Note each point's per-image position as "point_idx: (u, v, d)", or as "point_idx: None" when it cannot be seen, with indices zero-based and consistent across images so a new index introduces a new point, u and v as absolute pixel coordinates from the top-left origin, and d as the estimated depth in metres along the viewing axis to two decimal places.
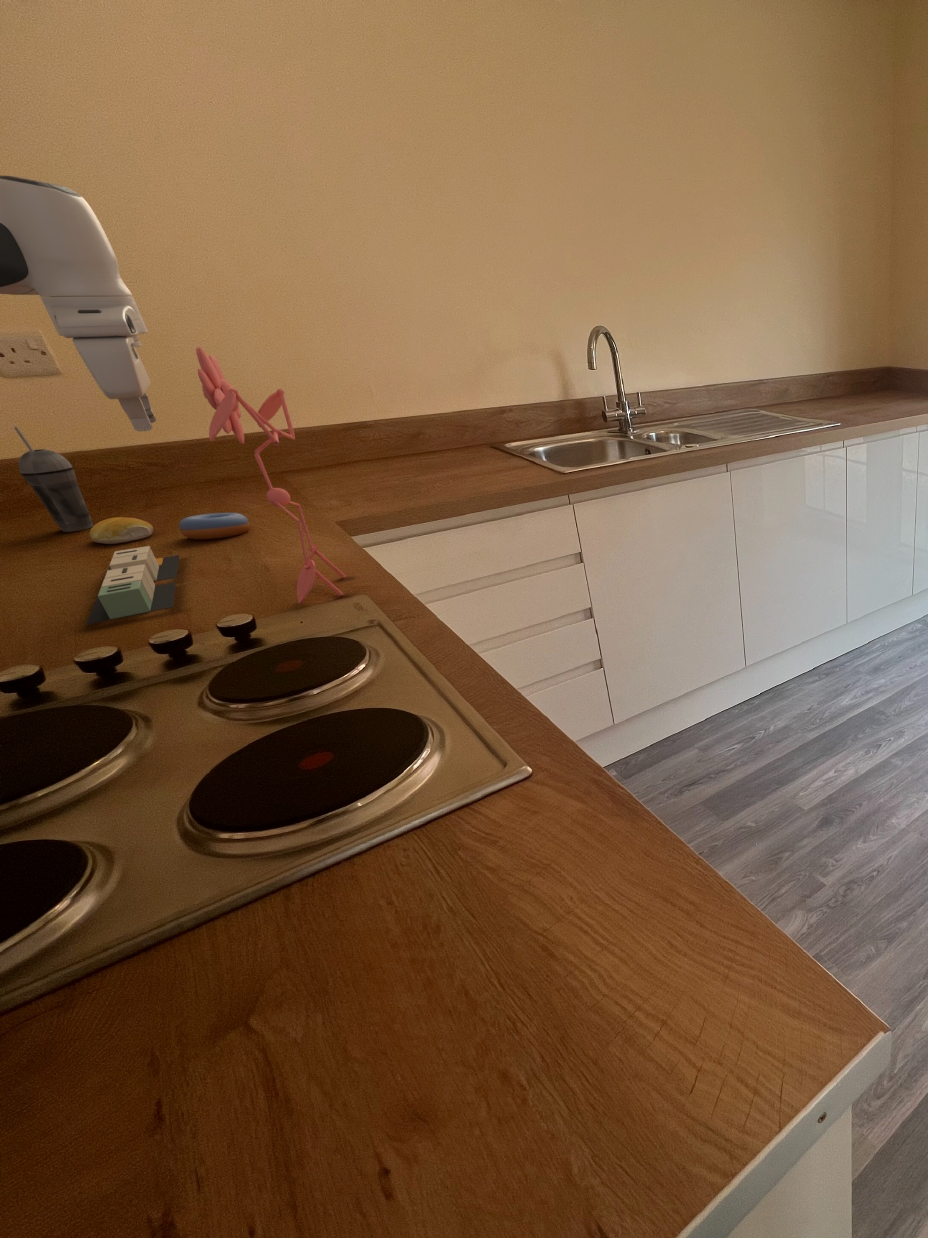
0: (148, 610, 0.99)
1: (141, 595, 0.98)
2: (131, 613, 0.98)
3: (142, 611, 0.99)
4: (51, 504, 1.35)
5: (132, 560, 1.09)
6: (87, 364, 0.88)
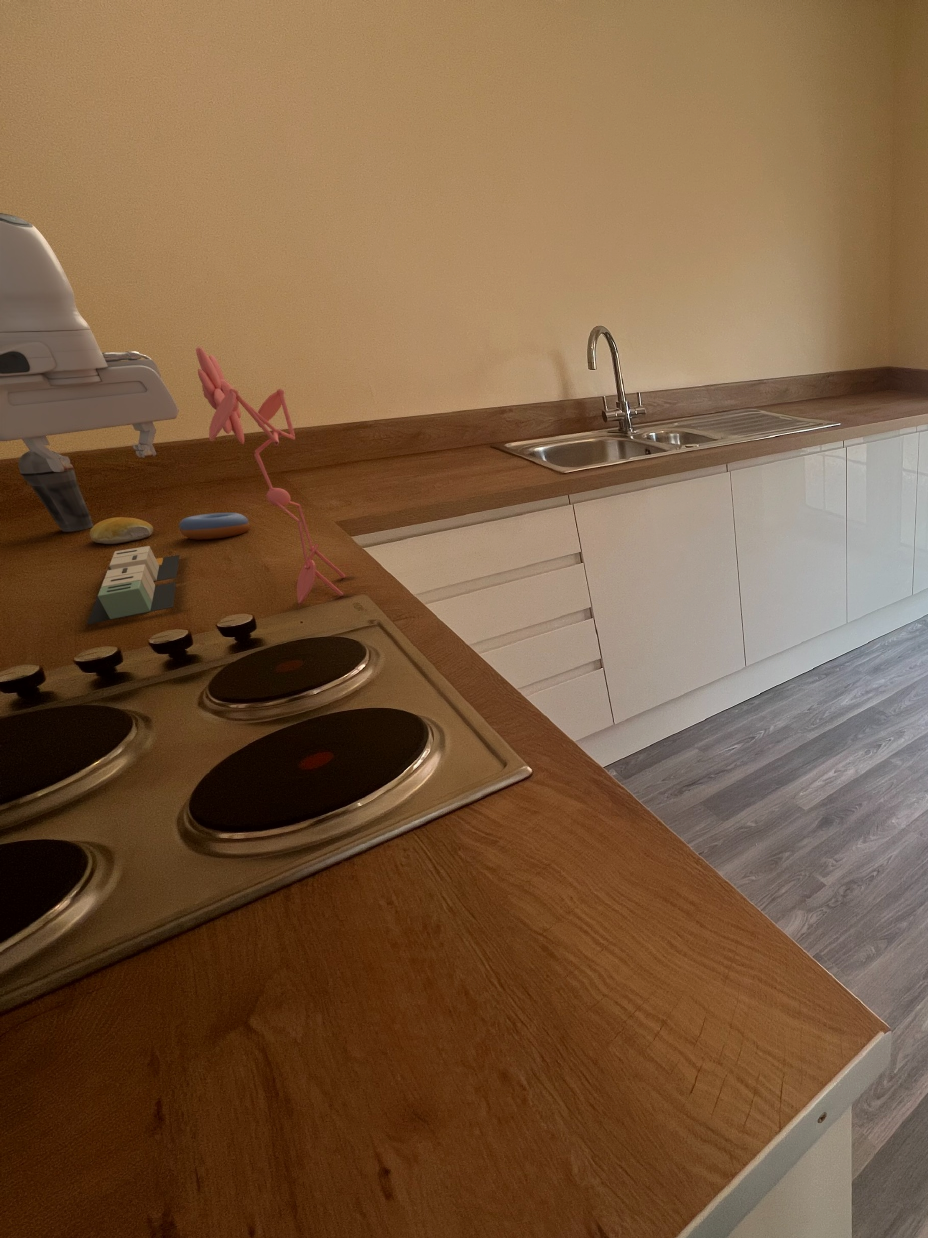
0: (148, 610, 0.99)
1: (141, 595, 0.98)
2: (131, 613, 0.98)
3: (142, 611, 0.99)
4: (51, 504, 1.35)
5: (132, 560, 1.09)
6: None
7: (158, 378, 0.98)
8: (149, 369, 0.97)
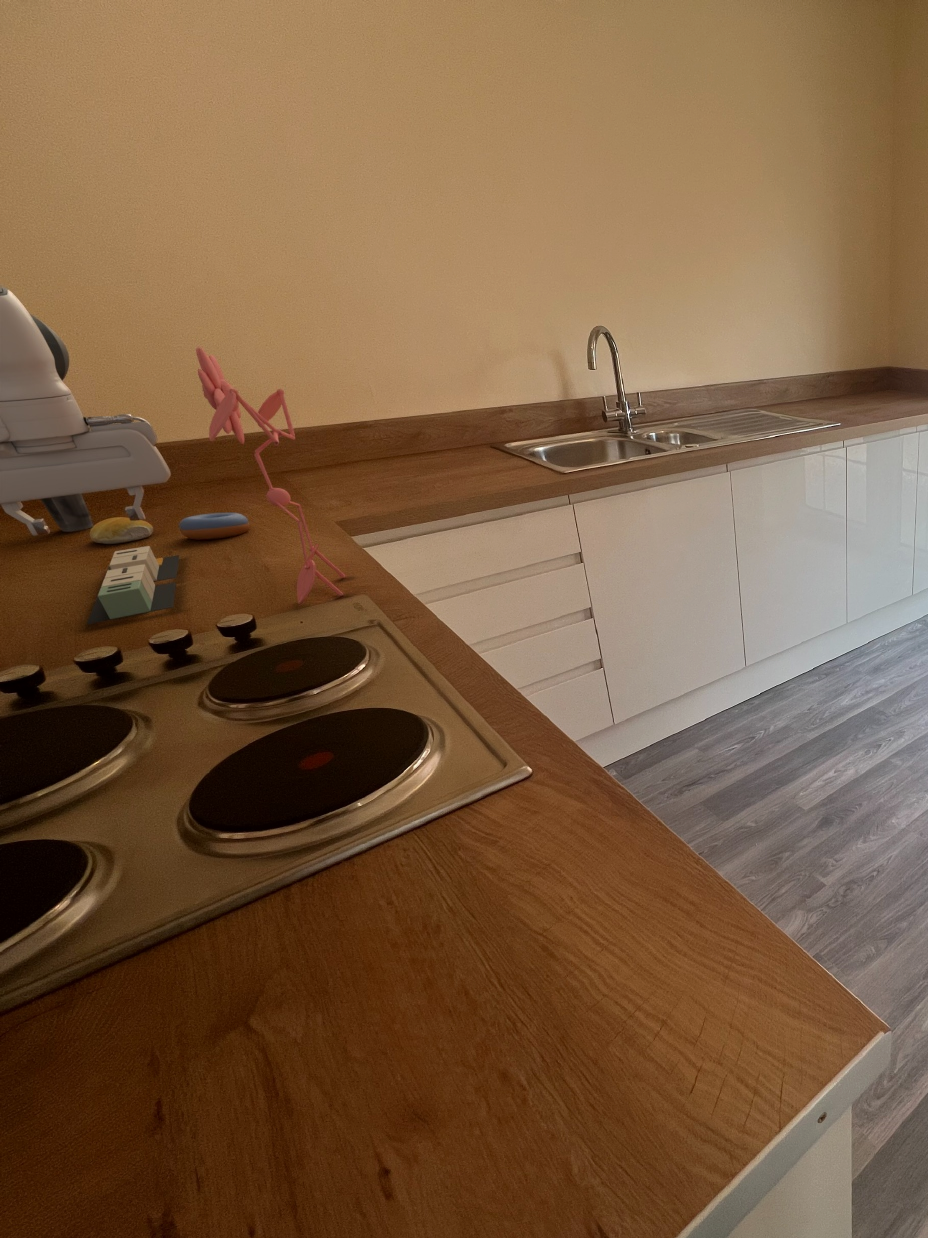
0: (148, 610, 0.99)
1: (141, 595, 0.98)
2: (131, 613, 0.98)
3: (142, 611, 0.99)
4: (51, 504, 1.35)
5: (132, 560, 1.09)
6: None
7: (144, 442, 0.94)
8: (134, 433, 0.93)
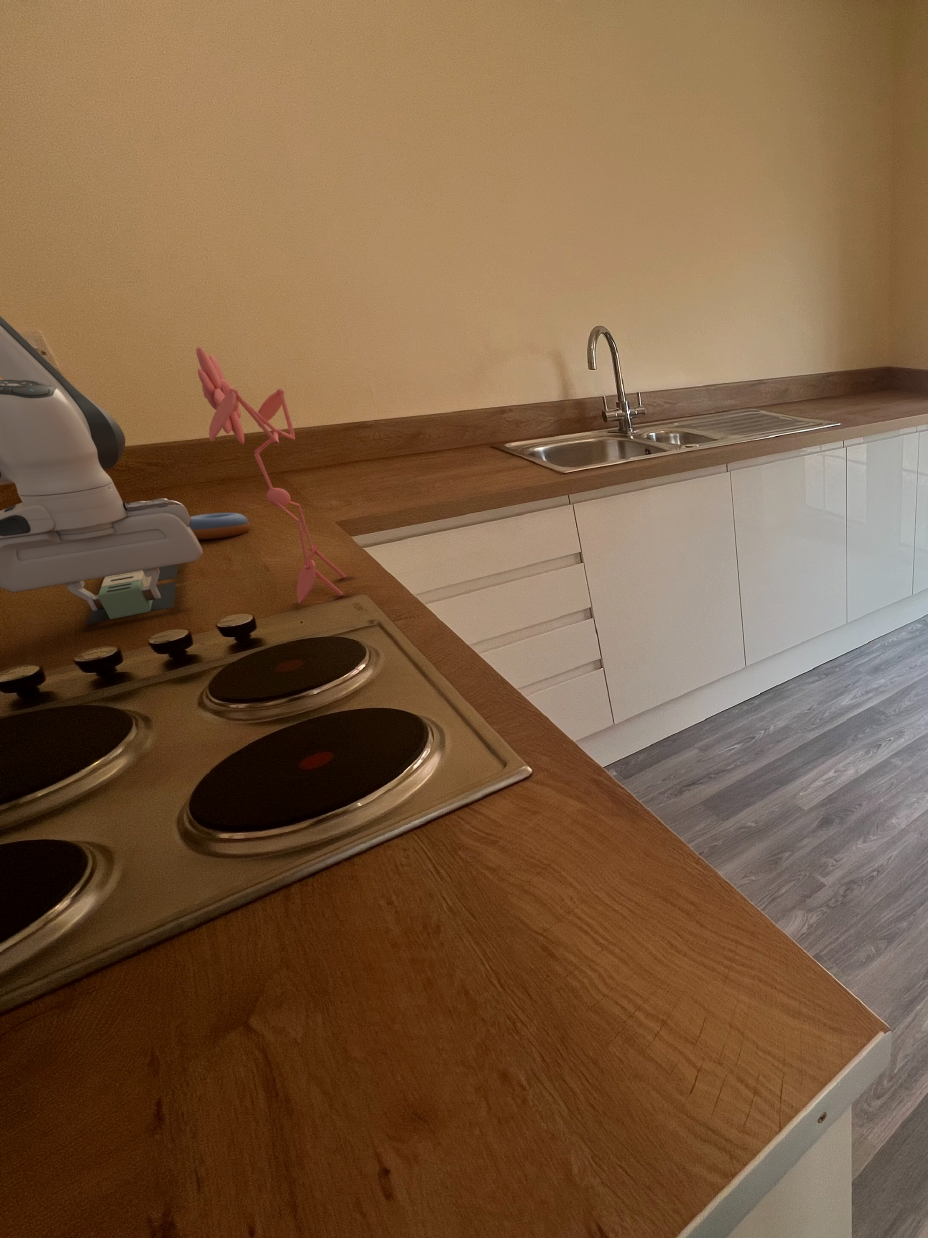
0: (148, 610, 0.99)
1: (141, 595, 0.98)
2: (131, 613, 0.98)
3: (142, 611, 0.99)
4: None
5: None
6: None
7: (179, 524, 0.99)
8: (170, 517, 0.98)
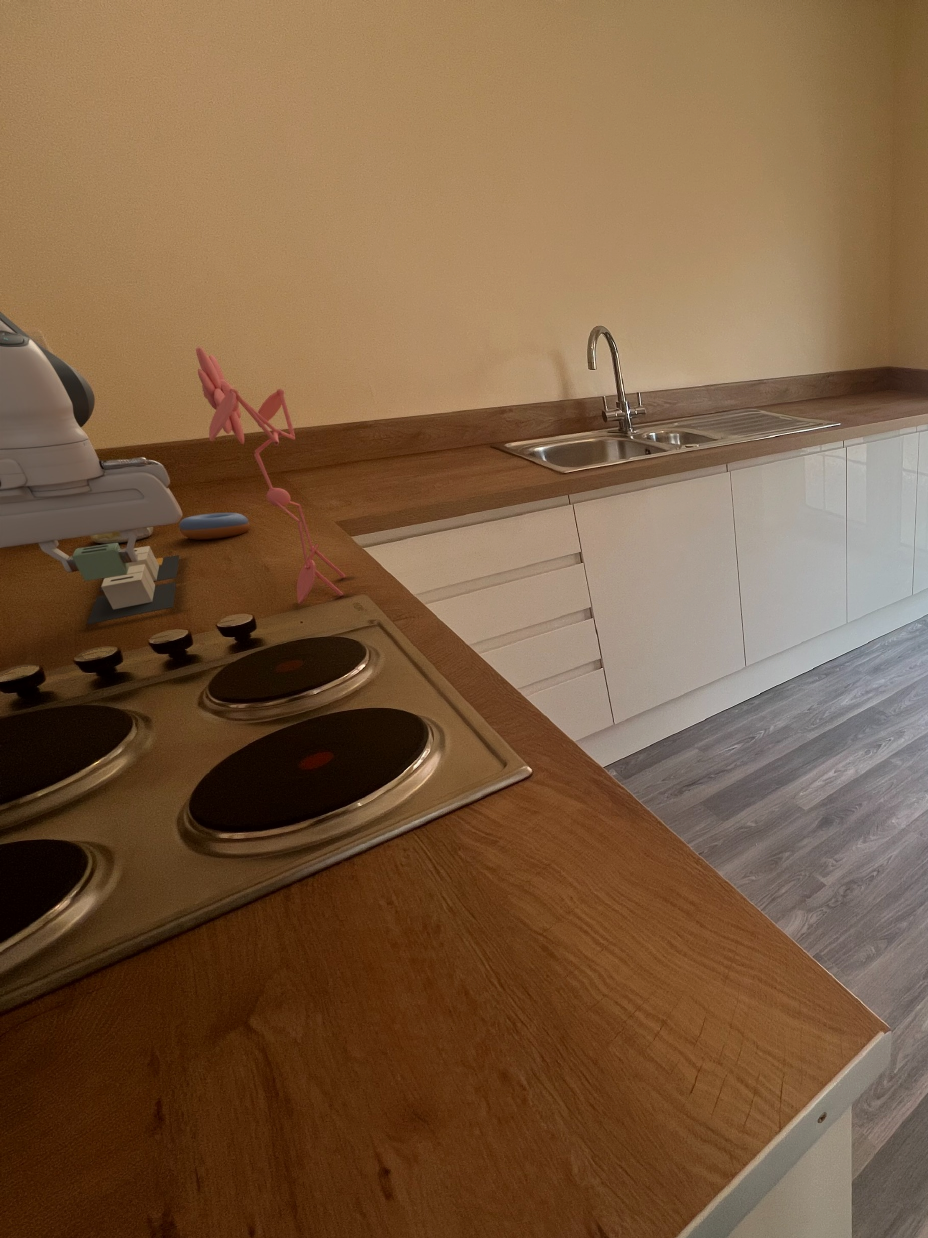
0: (124, 573, 0.96)
1: (117, 557, 0.95)
2: (107, 575, 0.95)
3: (118, 574, 0.96)
4: None
5: None
6: None
7: (157, 485, 0.96)
8: (148, 476, 0.95)
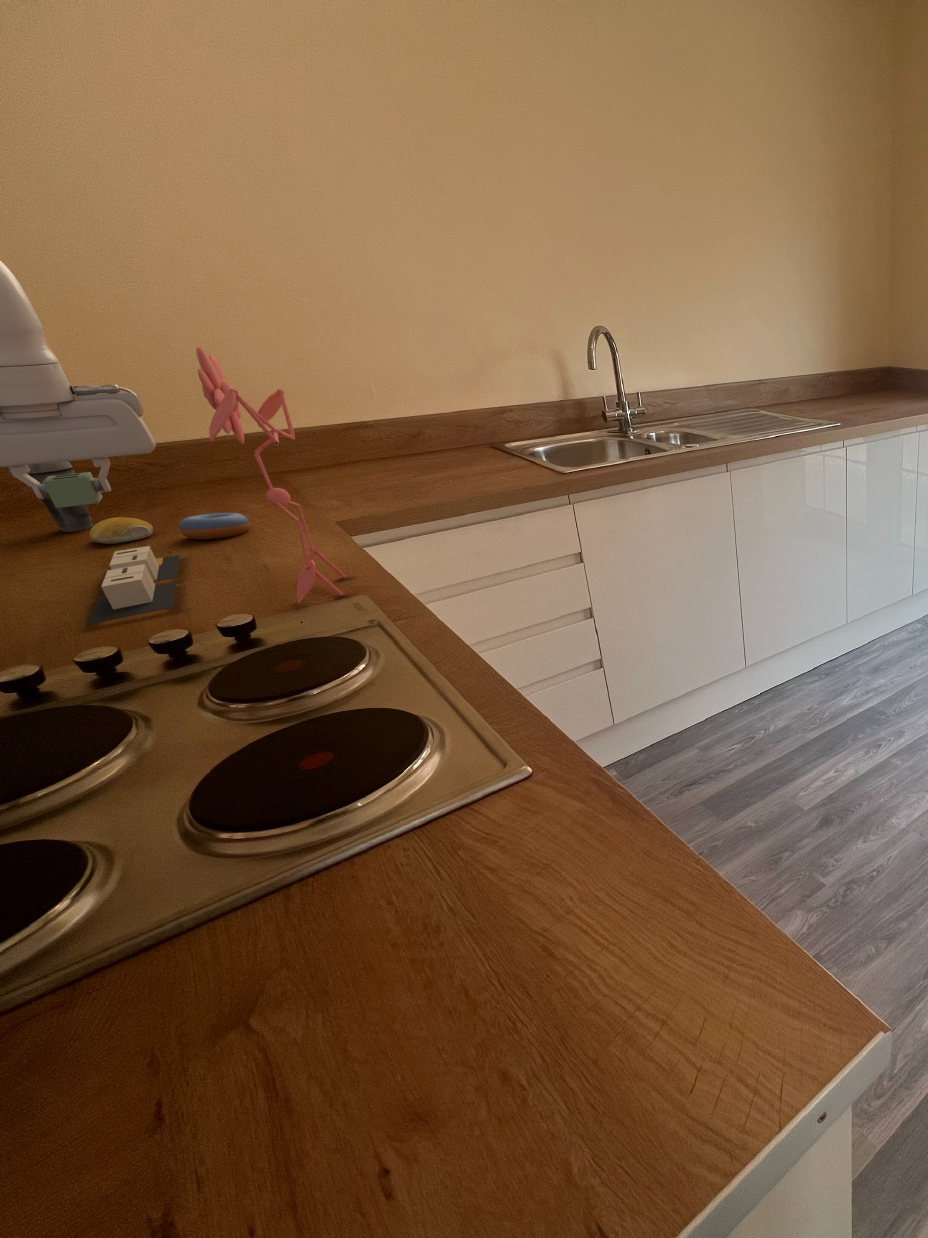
0: (97, 501, 0.96)
1: (89, 485, 0.95)
2: (78, 503, 0.95)
3: (90, 502, 0.95)
4: (51, 504, 1.35)
5: (132, 560, 1.09)
6: None
7: (129, 412, 0.95)
8: (120, 403, 0.94)
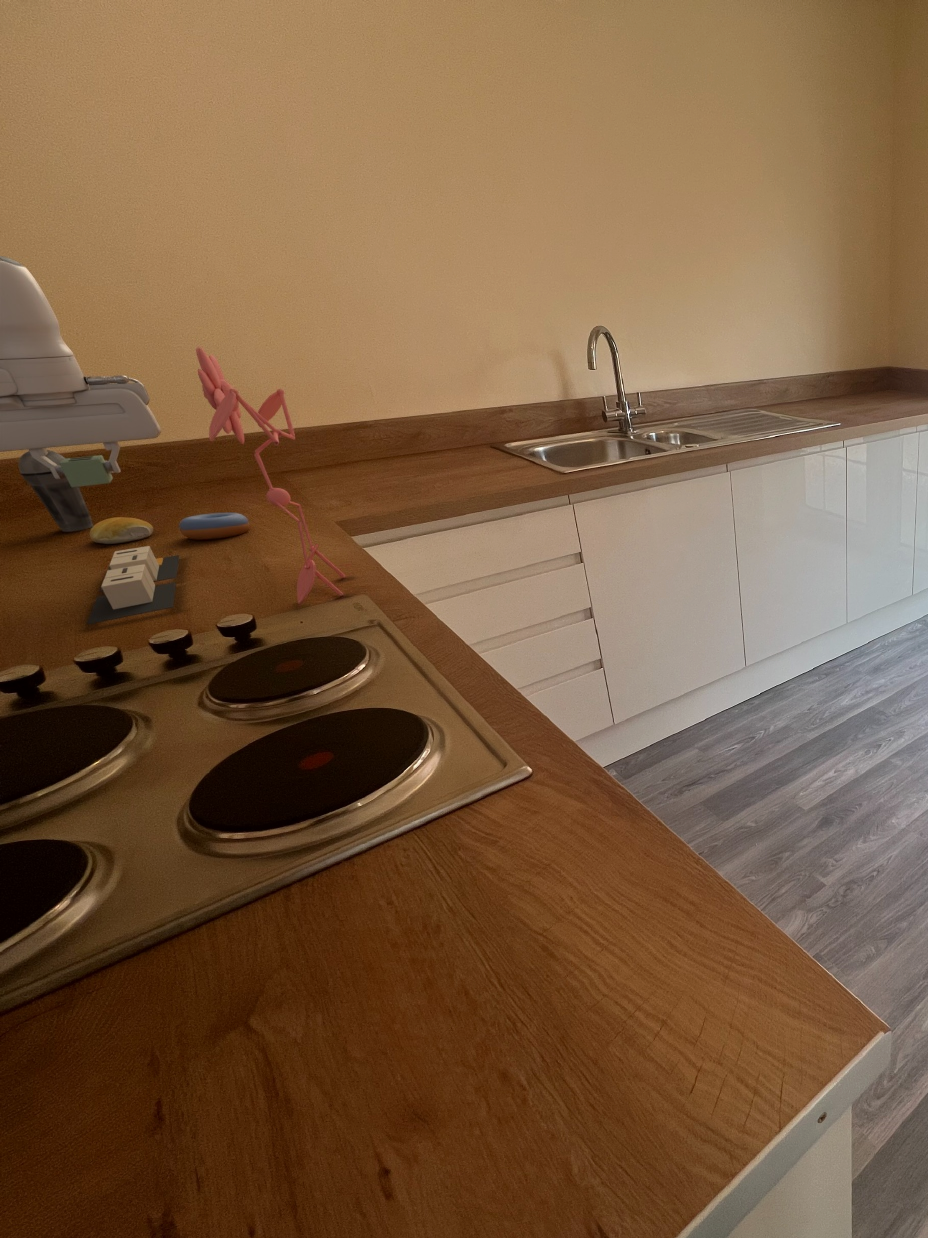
0: (108, 481, 1.06)
1: (101, 466, 1.05)
2: (91, 483, 1.05)
3: (102, 482, 1.05)
4: (51, 504, 1.35)
5: (132, 560, 1.09)
6: None
7: (137, 401, 1.05)
8: (128, 392, 1.04)
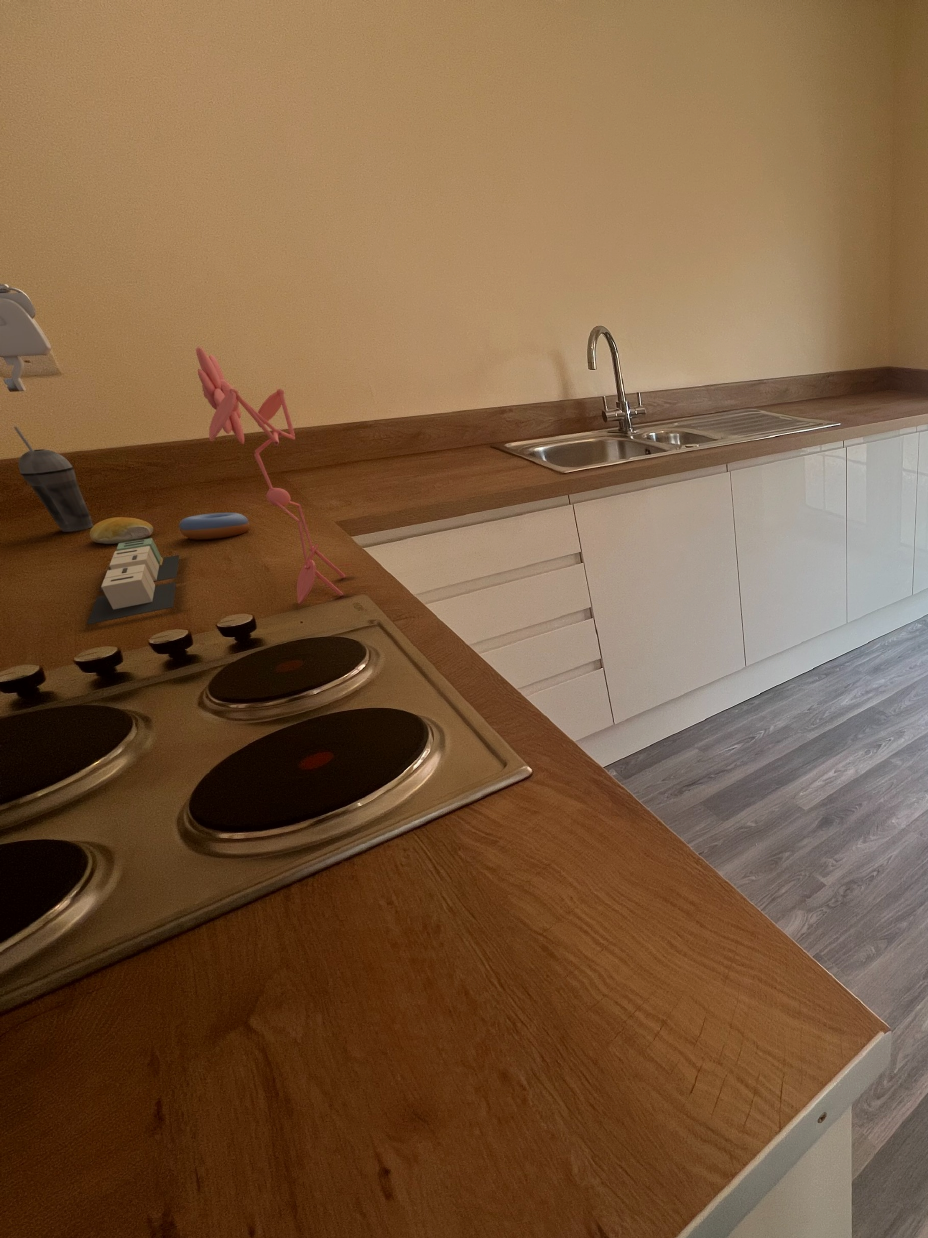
0: (158, 563, 1.17)
1: (153, 550, 1.16)
2: None
3: None
4: (51, 504, 1.35)
5: (132, 560, 1.09)
6: None
7: (20, 312, 0.97)
8: (9, 302, 0.96)
